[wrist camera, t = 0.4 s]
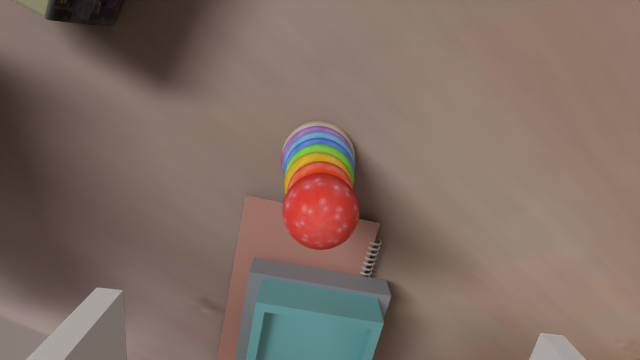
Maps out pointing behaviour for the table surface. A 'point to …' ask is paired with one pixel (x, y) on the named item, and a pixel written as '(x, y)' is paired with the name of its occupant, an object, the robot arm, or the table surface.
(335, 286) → the brick base
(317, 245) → the stacking toy
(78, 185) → the table surface
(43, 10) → the toy bus
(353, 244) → the notebook
